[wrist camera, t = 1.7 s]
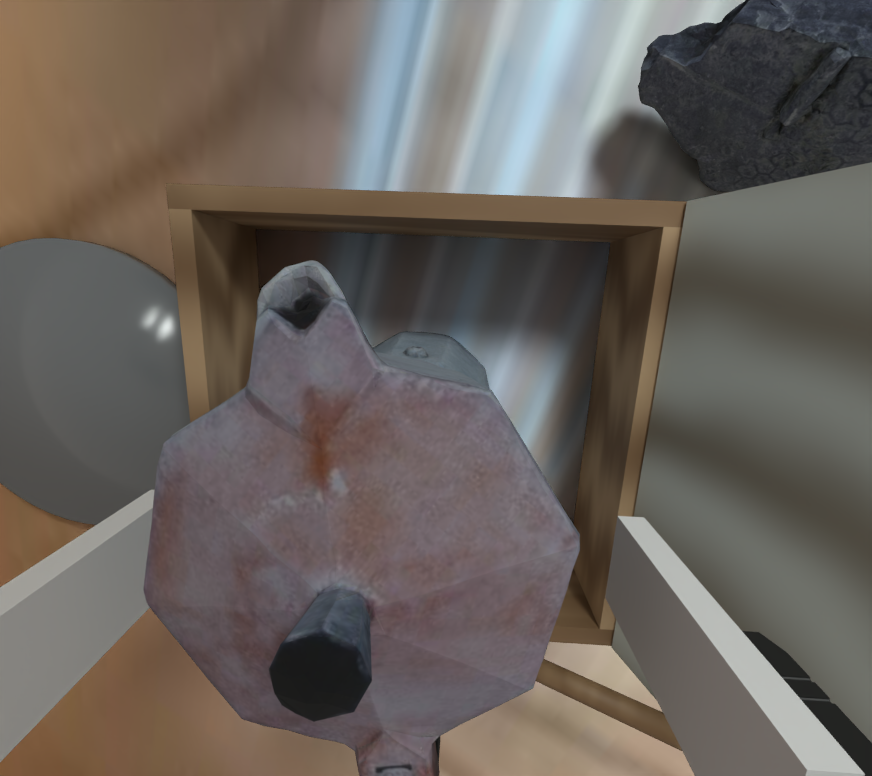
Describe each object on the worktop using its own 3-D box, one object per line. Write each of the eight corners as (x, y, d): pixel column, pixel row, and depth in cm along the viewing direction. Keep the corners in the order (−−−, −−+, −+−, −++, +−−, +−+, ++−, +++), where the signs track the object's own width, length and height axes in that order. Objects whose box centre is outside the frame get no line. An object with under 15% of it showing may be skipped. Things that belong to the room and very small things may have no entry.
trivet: (-78, 234, 24) (-100, 232, 24) (222, 246, 24) (212, 244, 23) (-13, 509, 29) (-29, 517, 28) (243, 525, 28) (236, 533, 27)
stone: (593, 179, 22) (700, 96, 13) (628, 51, 21) (779, -153, 11) (842, 234, 23) (1137, 192, 13) (894, 111, 21) (1271, -41, 11)
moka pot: (473, 260, 24) (565, 134, 4) (524, 501, 27) (709, 1051, 8) (314, 301, 25) (-215, 351, 5) (383, 529, 28) (223, 1084, 8)
